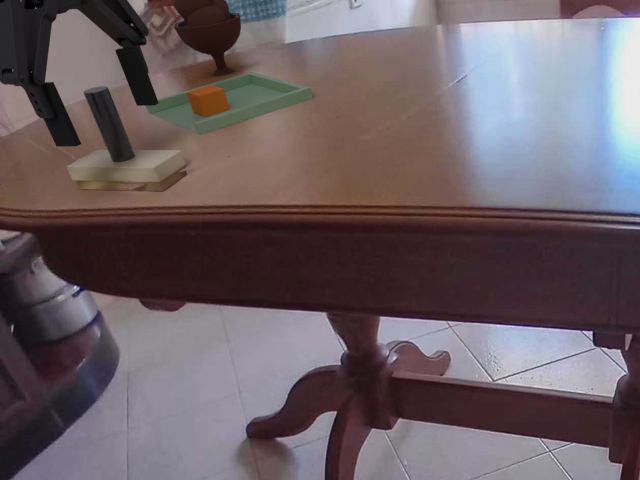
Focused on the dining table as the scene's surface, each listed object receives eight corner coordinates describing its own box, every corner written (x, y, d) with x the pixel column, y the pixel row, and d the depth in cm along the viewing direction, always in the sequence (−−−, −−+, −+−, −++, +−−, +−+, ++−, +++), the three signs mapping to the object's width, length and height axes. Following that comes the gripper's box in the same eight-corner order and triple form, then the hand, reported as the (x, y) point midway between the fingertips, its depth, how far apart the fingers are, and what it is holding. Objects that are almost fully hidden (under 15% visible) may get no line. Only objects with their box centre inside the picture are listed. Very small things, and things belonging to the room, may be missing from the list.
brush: (76, 190, 85) (33, 97, 78) (106, 172, 89) (68, 83, 82) (163, 192, 81) (125, 96, 75) (190, 173, 86) (156, 81, 79)
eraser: (193, 112, 103) (186, 92, 102) (217, 105, 105) (211, 84, 104) (205, 117, 101) (198, 96, 99) (230, 109, 103) (223, 88, 101)
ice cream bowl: (248, 84, 118) (219, -15, 109) (183, 90, 118) (150, -8, 110) (264, 67, 126) (238, -26, 118) (203, 73, 127) (174, -19, 118)
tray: (150, 119, 106) (144, 102, 105) (255, 87, 116) (251, 71, 114) (203, 141, 95) (197, 123, 94) (314, 104, 105) (310, 87, 103)
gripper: (-60, -81, 58) (58, 165, 70) (134, -108, 77) (200, 89, 89) (-126, -73, 60) (0, 165, 72) (79, -101, 79) (151, 91, 91)
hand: (111, 124), depth 81 cm, fingers open, 13 cm apart
